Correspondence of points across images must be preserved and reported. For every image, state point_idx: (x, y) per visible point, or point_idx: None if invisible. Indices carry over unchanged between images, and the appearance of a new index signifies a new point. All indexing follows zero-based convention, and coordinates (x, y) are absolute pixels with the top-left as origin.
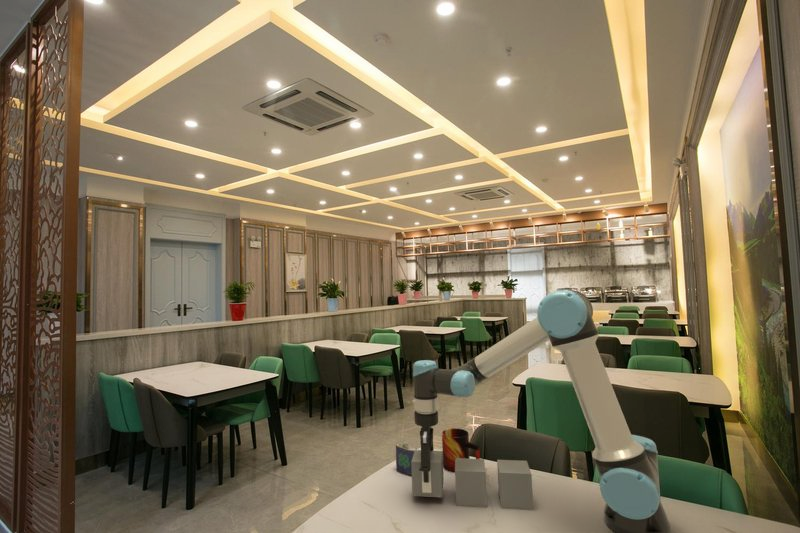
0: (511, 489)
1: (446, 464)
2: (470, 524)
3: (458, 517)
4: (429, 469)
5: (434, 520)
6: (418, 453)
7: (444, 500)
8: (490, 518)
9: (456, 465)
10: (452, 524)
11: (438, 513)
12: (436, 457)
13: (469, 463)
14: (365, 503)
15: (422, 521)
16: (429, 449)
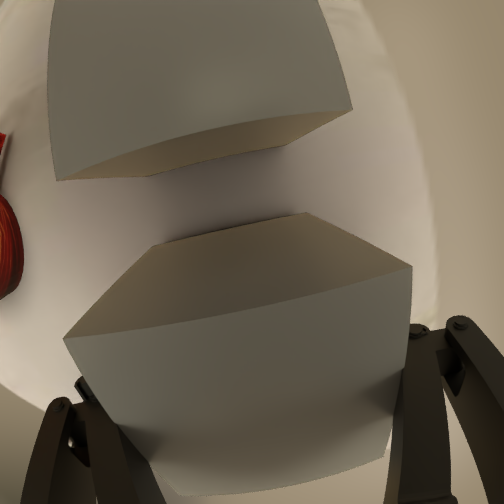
0: None
1: (8, 281)
2: (390, 83)
3: (367, 125)
4: (465, 321)
5: (404, 212)
6: (233, 481)
7: (257, 208)
8: (329, 20)
9: (222, 112)
10: (409, 144)
11: (363, 208)
12: (274, 363)
13: (142, 19)
14: None
15: (414, 251)
16: (449, 463)
